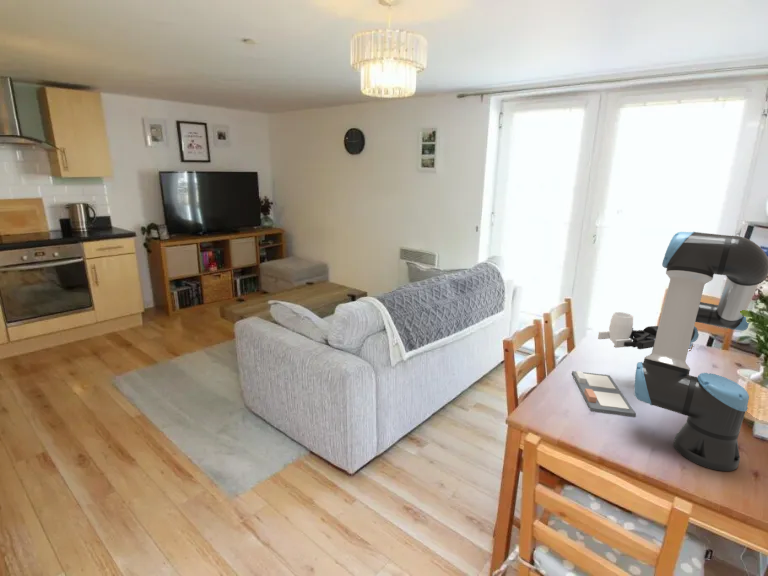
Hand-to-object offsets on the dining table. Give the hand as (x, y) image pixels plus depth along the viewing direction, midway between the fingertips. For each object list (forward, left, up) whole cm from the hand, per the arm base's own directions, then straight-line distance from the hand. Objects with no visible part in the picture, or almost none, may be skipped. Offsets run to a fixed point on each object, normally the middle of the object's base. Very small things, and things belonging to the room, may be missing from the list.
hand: (607, 339), depth 148 cm
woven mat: (+58, -53, -21) cm, 81 cm away
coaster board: (-2, -1, -21) cm, 21 cm away
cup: (+2, -4, -12) cm, 13 cm away
